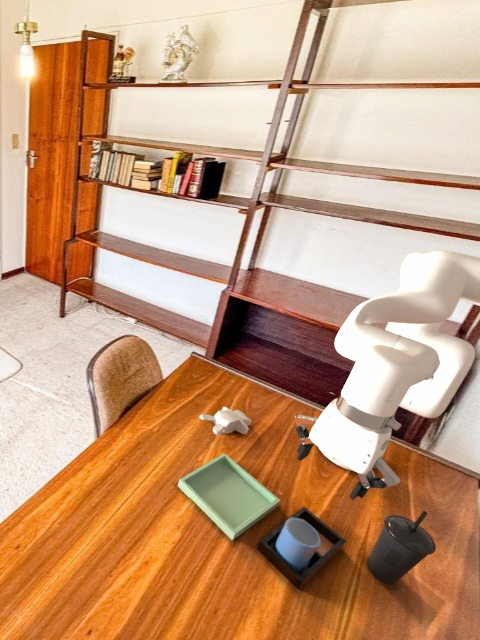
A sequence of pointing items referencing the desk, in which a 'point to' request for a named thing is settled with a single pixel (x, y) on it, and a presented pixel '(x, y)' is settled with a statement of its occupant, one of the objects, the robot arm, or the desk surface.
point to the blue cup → (297, 543)
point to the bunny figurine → (228, 421)
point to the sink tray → (228, 495)
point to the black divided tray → (323, 554)
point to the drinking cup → (399, 548)
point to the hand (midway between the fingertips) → (327, 475)
